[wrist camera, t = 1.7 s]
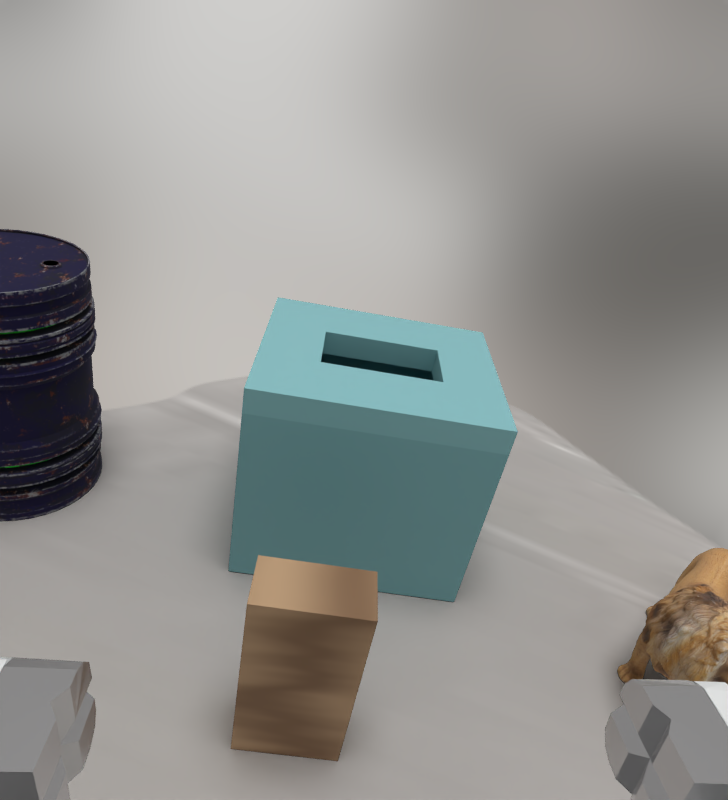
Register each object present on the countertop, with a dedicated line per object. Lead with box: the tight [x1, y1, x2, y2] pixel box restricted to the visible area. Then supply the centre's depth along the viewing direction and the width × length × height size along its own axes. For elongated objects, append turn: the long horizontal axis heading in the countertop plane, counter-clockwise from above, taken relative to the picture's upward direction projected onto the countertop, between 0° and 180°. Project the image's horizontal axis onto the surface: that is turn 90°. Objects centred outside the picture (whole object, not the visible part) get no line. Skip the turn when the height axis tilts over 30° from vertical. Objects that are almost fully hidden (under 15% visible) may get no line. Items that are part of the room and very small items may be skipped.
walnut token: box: [231, 555, 378, 761], centre depth 27 cm, size 5×2×10 cm, turn 89°
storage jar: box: [0, 229, 102, 521], centre depth 37 cm, size 10×10×15 cm
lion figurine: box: [617, 548, 728, 684], centre depth 35 cm, size 15×5×9 cm, turn 147°
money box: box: [228, 298, 518, 602], centre depth 39 cm, size 14×12×13 cm
